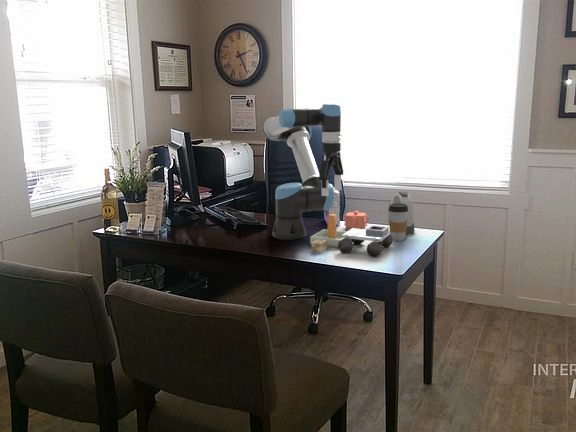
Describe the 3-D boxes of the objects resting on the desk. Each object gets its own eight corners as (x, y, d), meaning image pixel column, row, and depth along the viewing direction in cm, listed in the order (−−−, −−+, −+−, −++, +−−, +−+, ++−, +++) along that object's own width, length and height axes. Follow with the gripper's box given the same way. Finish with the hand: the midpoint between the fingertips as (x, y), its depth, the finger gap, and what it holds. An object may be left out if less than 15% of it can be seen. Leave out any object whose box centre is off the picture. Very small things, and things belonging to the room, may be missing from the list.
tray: (310, 244, 231) (310, 236, 230) (323, 236, 243) (323, 229, 243) (341, 248, 225) (341, 240, 224) (353, 240, 237) (353, 232, 236)
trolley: (338, 252, 219) (337, 230, 217) (352, 242, 233) (352, 222, 231) (380, 257, 211) (381, 235, 209) (393, 247, 225) (393, 225, 223)
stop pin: (326, 240, 233) (326, 215, 231) (329, 238, 236) (329, 213, 234) (334, 241, 231) (333, 216, 229) (337, 239, 235) (337, 214, 232)
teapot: (340, 232, 250) (340, 214, 249) (345, 224, 265) (345, 207, 263) (366, 233, 248) (366, 215, 246) (370, 225, 262) (370, 208, 260)
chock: (311, 252, 221) (311, 242, 220) (318, 248, 226) (317, 239, 225) (320, 253, 219) (320, 243, 218) (326, 249, 225) (326, 240, 224)
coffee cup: (407, 241, 232) (408, 207, 229) (387, 241, 234) (388, 206, 231) (407, 236, 240) (408, 203, 237) (388, 236, 242) (388, 203, 239)
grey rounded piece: (418, 235, 243) (419, 194, 238) (395, 236, 242) (396, 195, 238) (408, 226, 258) (409, 188, 254) (386, 227, 258) (387, 189, 254)
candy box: (323, 219, 275) (323, 187, 272) (335, 219, 276) (335, 187, 272) (328, 226, 262) (327, 192, 258) (340, 225, 262) (340, 192, 259)
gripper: (327, 145, 212) (328, 199, 217) (350, 139, 234) (350, 188, 239) (310, 144, 216) (310, 197, 220) (334, 139, 237) (334, 187, 242)
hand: (331, 193), depth 230 cm, fingers open, 13 cm apart
